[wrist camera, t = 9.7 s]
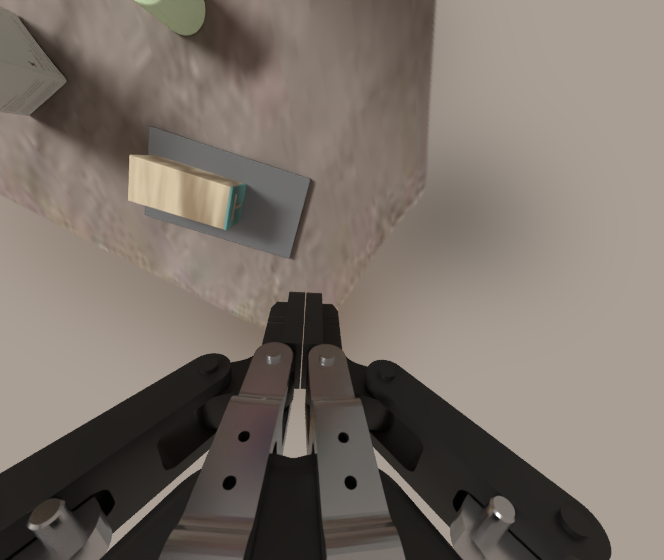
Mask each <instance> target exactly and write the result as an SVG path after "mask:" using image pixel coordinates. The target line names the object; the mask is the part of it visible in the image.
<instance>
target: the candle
mask: <svg viewBox="0 0 664 560" xmlns="http://www.w3.org/2000/svg"><path fill="white" fill-rule="evenodd" d="M133 1H134V2H136V3H137V4H138V5H140V6H141V7H142V8H144V9H145V10H146V11H148V12H149V13H150V14H151V15H153V16H154V17H155V18H157V19H158V20H159V21H161V22H162V23H163V24H165V25H166V26H167V27H168V28H170V29H171V30H172V31H174V32H176V33H178V34H180V35H184V36H187V35H192V34H194V33H196V32H197V31H198V30H199V29H200V28H201V26H202V24H203V23H204V19H205V2H204V0H133Z"/></svg>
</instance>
